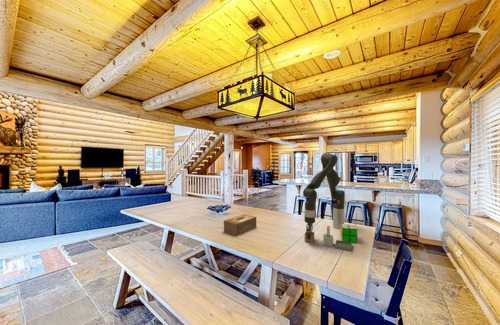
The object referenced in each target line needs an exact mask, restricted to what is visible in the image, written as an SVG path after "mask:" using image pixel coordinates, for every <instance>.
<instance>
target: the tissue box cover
mask: <svg viewBox="0 0 500 325" xmlns="http://www.w3.org/2000/svg"><path fill="white" fill-rule="evenodd" d="M256 228H257V216H254V215H250V214H246V213H243V214H239V215H237V216H234V217H231V218H230V217H229V218H227V219H224V220H223V233H225V232H226V234H228V233H229V235H231V236H235V237H238V236H240V235H243V234H245V233H246V232H249V231H253V230H254V229H256Z"/></svg>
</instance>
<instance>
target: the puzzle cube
mask: <svg viewBox="0 0 500 325" xmlns="http://www.w3.org/2000/svg"><path fill="white" fill-rule="evenodd" d="M339 230H340V232H339V233H340V238H341V239H340V240H341V241H346V242H352V243H356V244H357V243H358V228H356V225H354V224H345V223H344V224H341V225H340V229H339Z"/></svg>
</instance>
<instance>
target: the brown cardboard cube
mask: <svg viewBox="0 0 500 325" xmlns="http://www.w3.org/2000/svg"><path fill="white" fill-rule="evenodd" d="M308 233H309V231H308ZM304 243H309V244H314V243H315V232H314V231H312V232H311V233H310V240H308V239H307V234H306V231H305V232H304Z"/></svg>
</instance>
